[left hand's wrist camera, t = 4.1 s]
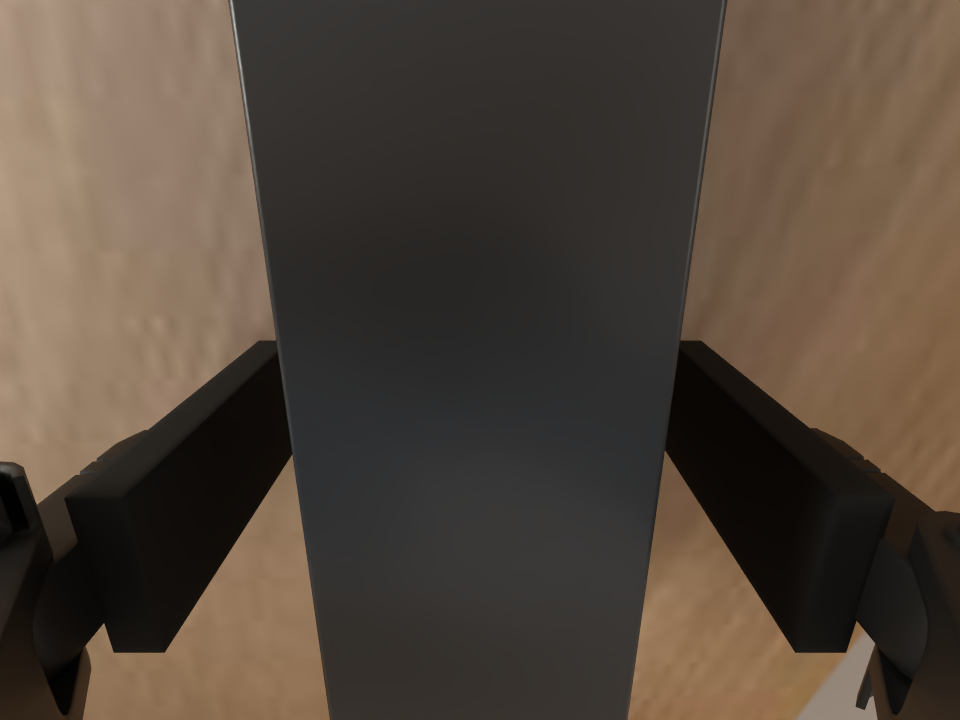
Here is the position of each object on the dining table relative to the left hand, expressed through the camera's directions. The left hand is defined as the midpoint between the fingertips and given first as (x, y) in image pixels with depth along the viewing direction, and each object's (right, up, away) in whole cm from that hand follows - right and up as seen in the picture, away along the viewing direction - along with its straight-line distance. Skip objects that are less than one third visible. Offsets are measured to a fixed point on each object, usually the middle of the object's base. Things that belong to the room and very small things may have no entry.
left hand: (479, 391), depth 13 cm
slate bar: (0, +9, -3) cm, 10 cm away
